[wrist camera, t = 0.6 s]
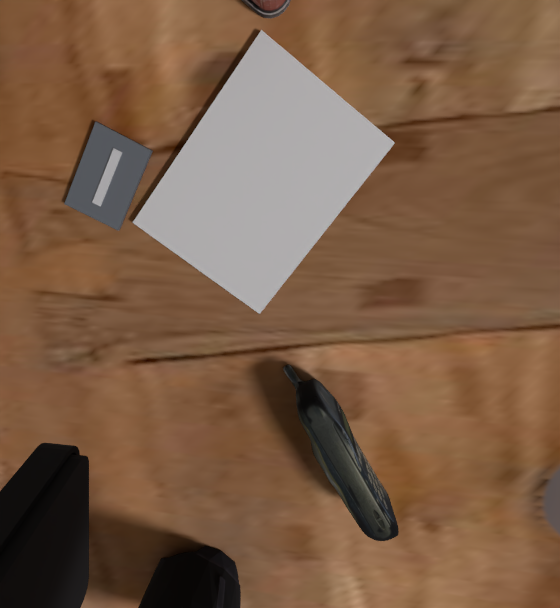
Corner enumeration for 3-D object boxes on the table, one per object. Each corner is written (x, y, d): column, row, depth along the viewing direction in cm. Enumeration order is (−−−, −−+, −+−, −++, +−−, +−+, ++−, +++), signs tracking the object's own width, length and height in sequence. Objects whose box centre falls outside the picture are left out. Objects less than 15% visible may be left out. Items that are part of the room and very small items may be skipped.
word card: (97, 121, 32) (94, 121, 32) (152, 150, 33) (151, 150, 33) (66, 203, 34) (63, 204, 34) (119, 229, 35) (117, 230, 34)
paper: (261, 31, 31) (261, 30, 30) (393, 143, 33) (394, 142, 32) (134, 221, 34) (132, 222, 34) (259, 312, 36) (259, 313, 36)
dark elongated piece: (408, 538, 37) (314, 382, 33) (372, 553, 37) (274, 402, 33) (393, 492, 41) (309, 351, 37) (361, 507, 42) (274, 369, 38)
